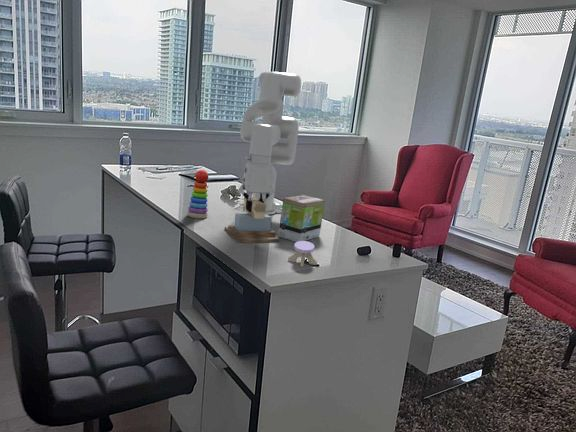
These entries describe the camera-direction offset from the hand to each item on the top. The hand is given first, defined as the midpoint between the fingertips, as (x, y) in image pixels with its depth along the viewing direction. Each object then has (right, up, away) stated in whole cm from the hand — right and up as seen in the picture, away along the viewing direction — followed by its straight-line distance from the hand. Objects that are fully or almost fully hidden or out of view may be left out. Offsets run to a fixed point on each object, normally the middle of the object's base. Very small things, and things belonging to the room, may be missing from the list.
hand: (254, 210), depth 168 cm
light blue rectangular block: (-1, -8, +2) cm, 8 cm away
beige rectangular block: (0, -1, +1) cm, 1 cm away
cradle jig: (-1, -9, +2) cm, 9 cm away
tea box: (+16, -10, +9) cm, 21 cm away
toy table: (+17, -17, -21) cm, 32 cm away
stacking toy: (-24, -2, +20) cm, 31 cm away
